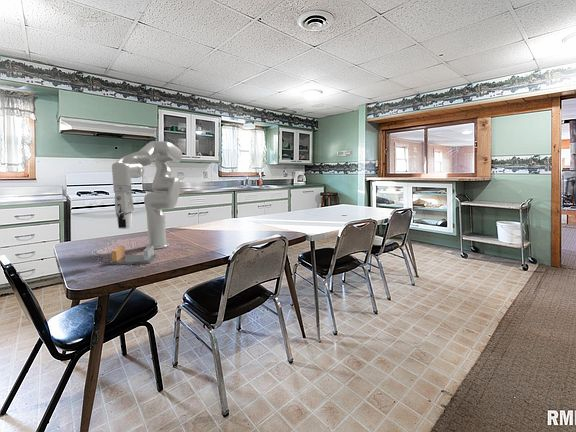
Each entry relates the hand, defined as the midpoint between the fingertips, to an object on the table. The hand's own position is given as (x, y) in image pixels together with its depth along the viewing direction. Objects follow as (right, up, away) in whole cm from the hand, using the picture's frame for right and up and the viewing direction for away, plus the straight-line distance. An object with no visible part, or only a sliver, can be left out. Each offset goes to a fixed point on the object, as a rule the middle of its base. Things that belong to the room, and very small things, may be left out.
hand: (125, 225), depth 149 cm
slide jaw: (-4, -16, +1) cm, 16 cm away
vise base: (+3, -17, +2) cm, 18 cm away
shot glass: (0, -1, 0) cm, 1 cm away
